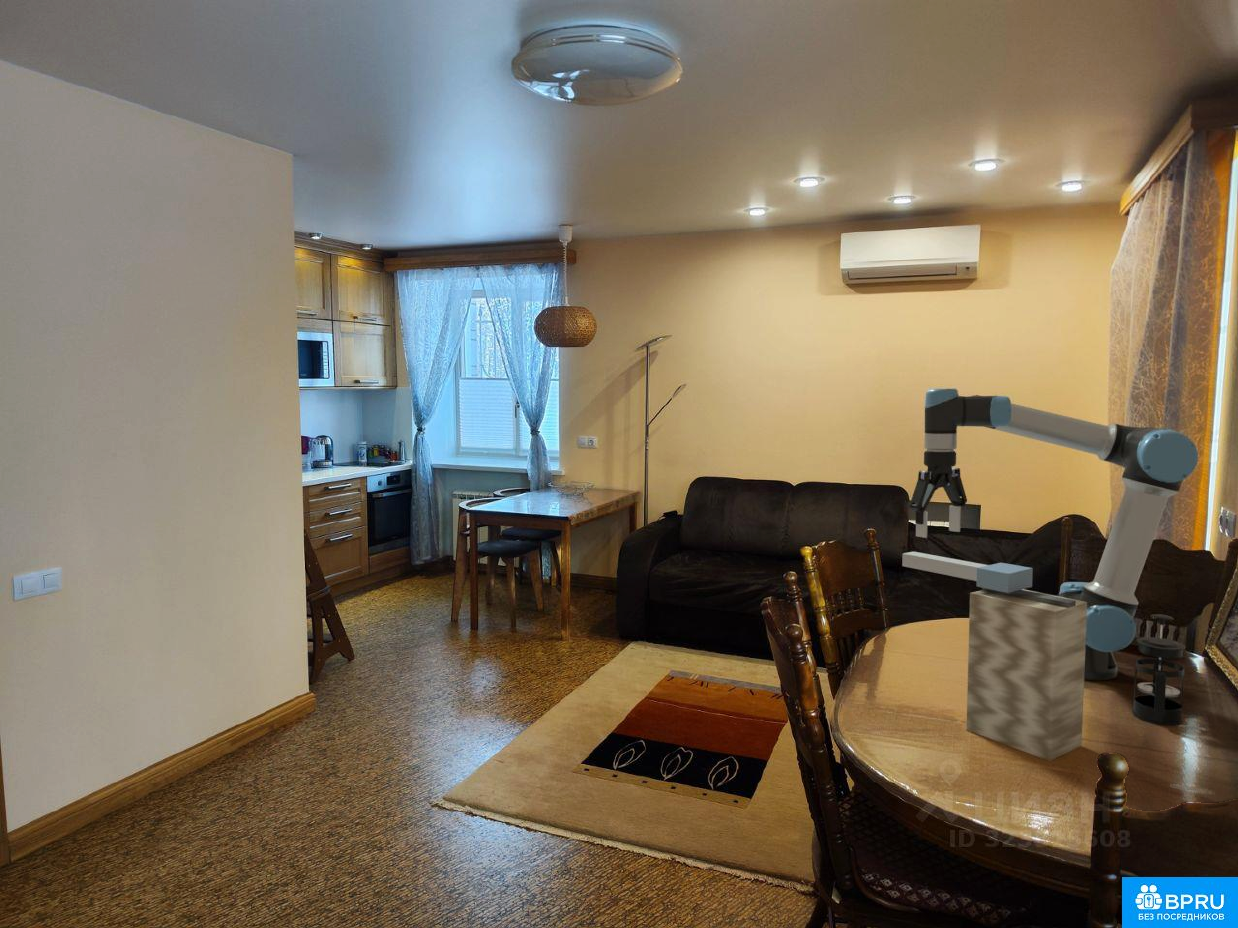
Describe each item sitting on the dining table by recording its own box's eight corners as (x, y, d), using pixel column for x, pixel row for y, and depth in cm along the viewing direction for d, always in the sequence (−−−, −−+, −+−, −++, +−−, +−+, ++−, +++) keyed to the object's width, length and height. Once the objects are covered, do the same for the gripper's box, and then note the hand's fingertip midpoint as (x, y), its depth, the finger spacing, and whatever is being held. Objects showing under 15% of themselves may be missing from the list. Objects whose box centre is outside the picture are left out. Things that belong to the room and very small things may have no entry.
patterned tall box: (966, 729, 172) (970, 588, 169) (998, 716, 178) (1002, 580, 176) (1050, 760, 157) (1055, 606, 154) (1081, 745, 163) (1087, 597, 161)
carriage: (895, 569, 186) (895, 552, 186) (919, 564, 191) (919, 548, 191) (1007, 592, 164) (1008, 573, 163) (1032, 586, 169) (1032, 568, 168)
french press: (1131, 704, 184) (1135, 607, 182) (1181, 712, 179) (1186, 612, 177) (1132, 722, 174) (1137, 619, 172) (1185, 731, 169) (1190, 625, 167)
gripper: (956, 447, 210) (954, 526, 212) (895, 451, 196) (894, 537, 198) (983, 448, 204) (980, 530, 205) (922, 453, 190) (920, 541, 192)
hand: (938, 534), depth 202 cm, fingers open, 13 cm apart
